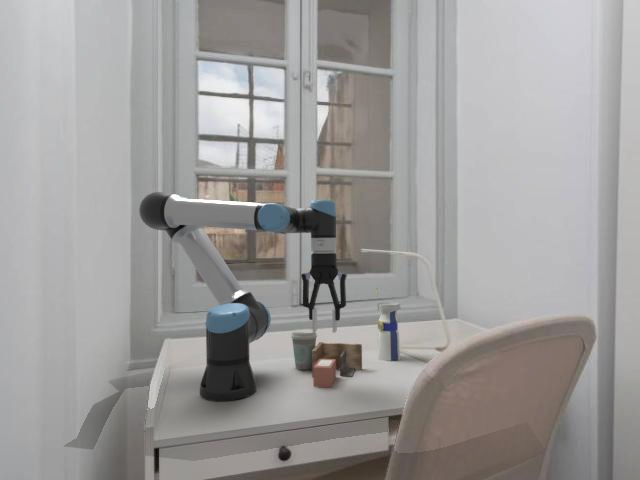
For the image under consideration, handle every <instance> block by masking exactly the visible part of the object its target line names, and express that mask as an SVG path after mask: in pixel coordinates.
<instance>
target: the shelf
mask: <svg viewBox="0 0 640 480" xmlns="http://www.w3.org/2000/svg"><path fill="white" fill-rule="evenodd" d="M319 359H336V369H337V370H339V376H340V377H348V378H349V377H353V375H354V373H355V370H357V371H362V370H363V344H362V343H349V342H346V343H345V342H344V343H343V342H321V341H319V342H318V343H317V345H315V348H314V349H313V350H312V369H311V377H312V378H314V374H313V367H314V366H315V364H316V363H317V362H318V360H319Z"/></svg>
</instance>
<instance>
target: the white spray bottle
mask: <svg viewBox="0 0 640 480" xmlns="http://www.w3.org/2000/svg"><path fill="white" fill-rule="evenodd" d="M378 293H379V290H378V289H376V290H375V296H376V297H378ZM376 306H377V311H379V313H380V316H379V319H378V322H377V330H378V351H377V352H378V353H377V354H378V355H377V358H378V360H381V361H385V362H395V361H400V359H401V350H400V332H399V330H398V326H399V325H398V322H399V318H398V315H397V313H398V311H399V310H401V309H402V307H401V305H400V303H399V302H397V301H396V302H395V301H385V302H384V301H382V302H377V305H376Z"/></svg>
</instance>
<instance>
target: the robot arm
mask: <svg viewBox="0 0 640 480" xmlns="http://www.w3.org/2000/svg"><path fill="white" fill-rule="evenodd" d="M138 211H139V216H140V219H141V221H142V222H143V223H144V224H145V226H147V227H149V228H150V229H153V230H157V231H165V232H166V233H167V235H168V236H169V238H170V239H171V241H172V243H175V244H179V245H180V246H181V247H182V249H183V251H184V252H185V254H186V255H187V257H188V258H189V260H190V261H191V263H192V264H193V267H195V269H196V271H197V272H198V274H199V275H200V277H201V278H202V280H203V282H204V283H205V284H206V286H207V288H208V289H209V291H210V293H211V294H212V295H213V297H214V298H215V300H216V302H217V303H218V305H216V306H213V307H211V308H210V309H209V310H208V311H207V313H206V321H205V332H206V333H205V341H206V342H205V343H206V345H205V346H206V347H205V349H206V352H205V353H206V354H205V355H206V363H205V364H206V366H205V369H204V372H203V376H202V378H201V382H200V385H199V396H200V397H202V398H203V399H205V400H208V401H213V402H214V401H215V402H227V401H235V400H240V399H244V398H247V397H249V396H251V395H253V394H255V392H256V390H257V379H256V377H255V374H254V371H253V369H252V365H251V362H250V345H251V343H252V342H254V341H258V340H259V339H261V338H262V337H263V336H264V335H265V334H266V333H267V331H269V329H270V326H271V319H272V317H271V313H270V310H269V308H268V307H267V306H266V304H264V303H262V302H261V301H258V300H257V299H256V298H255V297H254V295H253V293H252V292H251V291H249V290H244V289H243V287H242V286H241V284H240V282H239V281H238V280H237V278H236V277H235V275H234V274H233V272H232V271H231V269H230V267H229V266H228V264H227V263H226V261H225V260H224V259H223V257H222V255H221V254H220V252H219V251H218V249H217V247H216V246H215V245H214V243H213V242H212V240H211V238H210V237H209V236H208V235H207V233H206V231H205V227H206V228H207V227H208V228H221V229H235V230H246V231H247V230H248V231H261V232H270V233H276V234H284V235H286V234H303V233H304V234H305V233H306V234H309V233H310V251H311V252H312V253H311V255H310V262H311V263H310V264H311V266H310V270H309V272H304V273H301V279H302V306H303V308H307V309H308V319H309V321H311V322H312V324H311V325H312V329H313V332H315V331H316V332H317V331H318V309H317V308H316V301H317V298H318V295H319V294H318V293H319V289H320V286H321V285H323V284H324V285H327V286H328V288H329V292H330V295H331V300H332V303H333V307H334V308H333V309H332V310H331V313H332V317H331V318H332V333H336V332H337V331H338V329H337V327H338V326H337V323H338V322H337V321H340V319H341V309H343V308H345V307H346V306H347V291H346V280H347V276H348V274H347V273H345V272H340V271H339V270H338V267H337V260H338V259H337V253H336V251H337V213H336V212H337V210H336V202H334V201H333V200H330V199H329V200H328V199H317V200H311V201H310V205H309V207H301V208H300V207H298V208H297V207H296V208H295V207H289V206H286V205H283V204H281V203H277V202H268V203H259V202H247V201H246V202H243V201H228V200H226V201H225V200H224V201H223V200H214V199H213V200H211V199H197V198H196V199H195V198H194V199H193V198H190V197H188V196H185V195H178V194H172V193H168V192H165V191H154V192H151V193H149V194H147V195H145V197H143V199H142V200H141V202H140V203H139V208H138ZM337 277H338V280H339V293H340V296H339V297H340V301H339V298H338V293H337V290H336V287H335V282H334V280H336V278H337ZM311 278H312V279H313V281H314V283H313V288H312V292H311V296H310V297H309V295H310V291H309V290H310V279H311Z"/></svg>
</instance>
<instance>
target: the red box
mask: <svg viewBox="0 0 640 480" xmlns="http://www.w3.org/2000/svg"><path fill="white" fill-rule="evenodd" d="M313 374H314V377H313V387H320V388H321V387H323V388H325V387H326V388H331V387H332V386H333V384H334V382H335V380H336V378H337V370H336V359H319V360H318V362H317V363H316V364H315V366H314V367H313Z"/></svg>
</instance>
